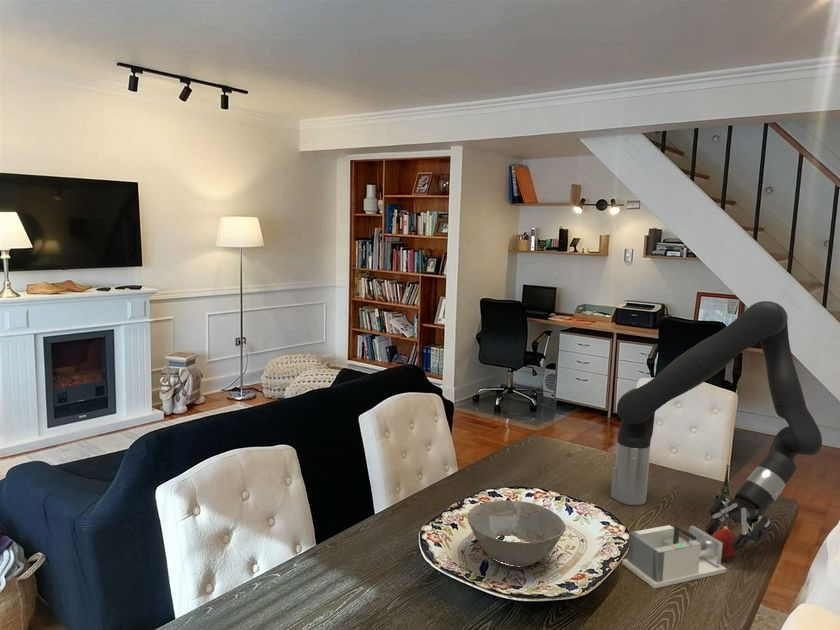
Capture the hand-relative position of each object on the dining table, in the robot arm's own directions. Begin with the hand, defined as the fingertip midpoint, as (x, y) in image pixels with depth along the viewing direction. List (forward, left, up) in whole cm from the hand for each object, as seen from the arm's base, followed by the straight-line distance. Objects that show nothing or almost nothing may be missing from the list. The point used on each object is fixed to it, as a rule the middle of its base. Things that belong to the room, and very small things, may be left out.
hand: (720, 540), depth 152 cm
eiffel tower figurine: (-7, +36, -5) cm, 37 cm away
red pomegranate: (+1, +1, -5) cm, 5 cm away
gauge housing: (-7, -12, -5) cm, 15 cm away
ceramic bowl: (-38, -34, -5) cm, 51 cm away
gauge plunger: (-4, -9, -3) cm, 10 cm away
